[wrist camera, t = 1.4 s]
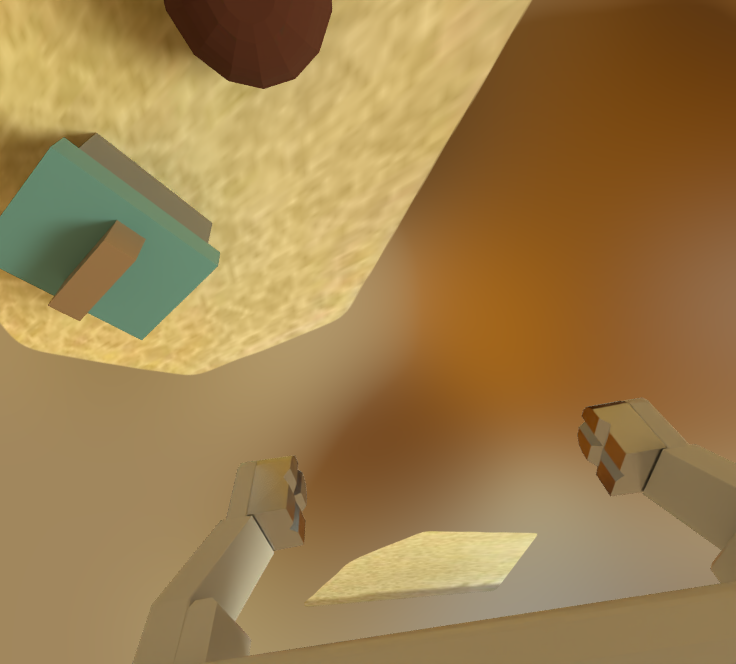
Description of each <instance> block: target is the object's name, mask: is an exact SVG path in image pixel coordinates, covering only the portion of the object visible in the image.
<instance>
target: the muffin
mask: <svg viewBox="0 0 736 664" xmlns="http://www.w3.org/2000/svg"><path fill="white" fill-rule="evenodd" d="M164 4H165V8H166V11H167V13H168V14H169V16H170V17H171V19H172V21H173V22H174V24H175V25H176V27H177V28H178V30H179V32H180V33H181V35H182V36H183V38H184V39H185V41H186V43H187V44H188V46H189V47H190V49H191V50H192V52H193V54H194V55H195V56H197V57H198V58H199V59H201V60H202V61H203V62H205V63H206V64H207V65H208V66H210V67H211V68H212V69H214V70H215V71H216V72H217V73H219V74H220V75H221V76H223V77H224V78H225V79H226V80H228V81H231V82H235V83H240V84H244V85H249V86H253V87H257V88H262V89H265V88H268V87H271V86H274V85H277V84H281V83H284V82H287V81H290V80H293V79H295V78H296V77H297V76H298V75H299V74H300V73H301V72H302V71H303V70H304V68H305V67H306V66H307V65H308V64H309V63H310V62H311V61H312V60H313V58H314V57H315V56H316V55H317V54H318V53H319V51H320V48H321V45H322V42H323V38H324V35H325V32H326V29H327V26H328V22H329V19H330V16H331V13H332V0H164Z"/></svg>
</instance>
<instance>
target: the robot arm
mask: <svg viewBox="0 0 736 664" xmlns="http://www.w3.org/2000/svg"><path fill="white" fill-rule="evenodd" d="M582 417H583V419H584V421H585V422H584V423H583V424H582V425H581V426H580V427H579V430H578V442H579V446H580V448H581V451H582V453H583V454H584V456H585V458H586V459H587V460H588V461H589V462H591V463H593V464H594V465H596V466H597V472H596V475H597V476H598V478H599V480H600V481H601V483H602V484H603V486H604V487H605V489H606V490H607V492H608V494H609V495H610V496H617V495H625V494H632V493H640V492H643V494H644V495H645V496H646V497H648V498H649V499H651V500H652V501H653V502H655V503H656V504H658V505H659V506H660V507H662V508H663V509H665V510H666V511H668V512H669V513H670V514H672V515H673V516H674V517H676V518H677V519H679V520H680V521H682V522H683V523H684V524H686V525H687V526H688V527H690V528H691V529H693V530H694V531H695V532H697V533H698V534H699V535H701V536H702V537H704V538H705V539H706V540H708V541H709V542H711V543H712V544H714V545H715V546H716V547H718V548H719V549H720V550H722V551H721V552H720V553H719V554H718V556H717V557H716V558H715V560H714V561H713V562H712V565H711V568H710V569H711V571H712V572H713V573H714V575H715V576H716V577H717V579H718V580H719V582H720V583H721V584H714V585H708V586H701V587H694V588H688V589H681V590H676V591H668V592H662V593H656V594H649V595H643V596H636V597H629V598H622V599H617V600H609V601H603V602H596V603H590V604H583V605H577V606H570V607H564V608H557V609H551V610H544V611H538V612H531V613H524V614H518V615H512V616H505V617H499V618H492V619H485V620H479V621H472V622H466V623H459V624H452V625H446V626H440V627H433V628H426V629H420V630H413V631H407V632H400V633H394V634H387V635H381V636H374V637H368V638H361V639H355V640H349V641H342V642H335V643H329V644H322V645H316V646H309V647H303V648H296V649H289V650H283V651H276V652H270V653H263V654H257V655H250V656H249V653H250V644H251V639H250V638H249V636H248V635H247V634H246V633H245V632H244V631H243V630H242V628H241V627H240V626H239V625H238V624H237V623H236V622H235V621H236V619H237V617H238V615H239V614H240V612H241V610H242V608H243V607H244V605H245V603H246V601H247V599H248V598H249V596H250V594H251V592H252V591H253V589H254V587H255V585H256V584H257V582H258V580H259V578H260V576H261V575H262V573H263V571H264V570H265V568H266V566H267V564H268V563H269V561H270V559H271V557H272V556H273V554H274V552H273V551H275V550H280V549H285V548H291V547H296V546H301V545H304V540H305V522H306V521H305V519H304V517H303V514H302V511H303V510H304V508H305V507H306V501H307V493H306V483H305V479H304V476H303V473H302V472H301V471H299V470H298V461H297V459H296V457H295V456H288V457H280V458H272V459H265V460H258V461H251V462H245V463H241V464H240V466H239V467H238V469H237V473H236V478H235V482H234V486H233V491H232V496H231V500H230V504H229V509H228V513H227V517H226V519H225V520H221V521H220V522H219V523H218V524H217V525H216V527H215V528H214V529H213V530H212V532H211V533H210V534H209V535H208V537H207V538H206V539H205V540H204V541H203V543H202V544H201V545H200V546H199V548H198V549H197V550H196V551H195V552H194V554H193V555H192V556H191V557H190V559H189V560H188V561H187V562H186V563H185V565H184V566H183V567H182V568H181V570H180V571H179V572H178V574H177V575H176V576H175V577H174V578H173V579H172V581H171V582H170V583H169V584H168V586H167V587H166V588H165V589H164V590H163V592H162V593H161V594H160V595H159V597H158V598H157V599H156V600H155V602H154V603H153V604H152V605H151V608H150V612H149V615H148V618H147V621H146V624H145V627H144V630H143V633H142V636H141V639H140V642H139V645H138V648H137V651H136V654H135V657H134V660H133V663H132V664H736V463H734V462H732V461H729V460H728V459H725V458H723V457H721V456H719V455H717V454H715V453H713V452H711V451H709V450H706V449H705V448H703V447H700V446H698V445H696V444H692V445H689V444H688V443H687V442H686V441H685V440H684V438H683V437H682V436H681V435H680V434H679V433H678V432H677V431H676V430H675V429H674V428H673V427H672V426H671V425H670V424H669V422H668V421H667V420H666V419H665V418H664V417H663V416H662V415H661V414H660V413H659V412H658V411H657V410H656V409H655V408H654V407H653V405H652V404H651V403H650V402H649V401H648V400H646V399H644V398H637V399H631V400H625V401H617V402H611V403H606V404H600V405H594V406H589V407H586V408H585V409H584V410H583V413H582Z"/></svg>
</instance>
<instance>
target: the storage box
mask: <svg viewBox="0 0 736 664" xmlns="http://www.w3.org/2000/svg"><path fill="white" fill-rule="evenodd" d="M79 149H81V150H82V151H83V152H85V153H86V154H87V155H89V156H90V157H91V158H93V159H94V160H95V161H97V162H98V163H100V164H101V165H102V166H104V167H105V168H106V169H108V170H109V171H110V172H112V173H113V174H114V175H116V176H117V177H118V178H120V179H121V180H123V181H124V182H125V183H127V184H128V185H129V186H131V187H132V188H133V189H135V190H136V191H137V192H139V193H140V194H142V195H143V196H144V197H146V198H147V199H148V200H150V201H151V202H152V203H154V204H155V205H156V206H158V207H159V208H160V209H162V210H163V211H165V212H166V213H167V214H169V215H170V216H171V217H173V218H174V219H175V220H177V221H178V222H179V223H181V224H182V225H183V226H185V227H186V228H188V229H189V230H190V231H192V232H193V233H194V234H196V235H197V236H198V237H200V238H201V239H202V240H204V241H205V242H207V243H208V241H209V236H210V231H211V226H212V223H211V222H210V221H209V220H208V219H206V218H205V217H204V216H202V215H201V214H200V213H199V212H197V211H196V210H195V209H194V208H192V207H191V206H190V205H188V204H187V203H186V202H185V201H183V200H182V199H181V198H179V197H178V196H177V195H176V194H174V193H173V192H172V191H170V190H169V189H168V188H167V187H165V186H164V185H163V184H161V183H160V182H159V181H158V180H156V179H155V178H154V177H153V176H151V175H150V174H149V173H147V172H146V171H145V170H144V169H142V168H141V167H140V166H138V165H137V164H136V163H135V162H133V161H132V160H131V159H129V158H128V157H127V156H126V155H124V154H123V153H122V152H121V151H119V150H118V149H117V148H115V147H114V146H113V145H112V144H110V143H109V142H108V141H106V140H105V139H104V138H103V137H101V136H100V135H99V134H97V133H96V134H95V135H93V136H92V137H91V138H90V139H89V140H88V141H86V142H85V143H84V144H83V145H82V146H81V147H79Z"/></svg>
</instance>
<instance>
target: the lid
mask: <svg viewBox="0 0 736 664" xmlns="http://www.w3.org/2000/svg"><path fill="white" fill-rule="evenodd" d="M219 257H220V252H219V251H217V250H216V249H215V248H213V247H212V246H211V245H209V244H208V243H207V242H205V241H204V240H202V239H201V238H200V237H198V236H197V235H196V234H194V233H193V232H192V231H190V230H189V229H188V228H186V227H185V226H183V225H182V224H181V223H179V222H178V221H177V220H175V219H174V218H173V217H171V216H170V215H169V214H167V213H166V212H165V211H163V210H162V209H160V208H159V207H158V206H156V205H155V204H154V203H152V202H151V201H150V200H148V199H147V198H146V197H144V196H143V195H142V194H140V193H139V192H137V191H136V190H135V189H133V188H132V187H131V186H129V185H128V184H127V183H125V182H124V181H123V180H121V179H120V178H118V177H117V176H116V175H114V174H113V173H112V172H110V171H109V170H108V169H106V168H105V167H104V166H102V165H101V164H100V163H98V162H97V161H95V160H94V159H93V158H91V157H90V156H89V155H87V154H86V153H85V152H83V151H82V150H81V149H79V148H78V147H77V146H75V145H74V144H72V143H71V142H70V141H68V140H67V139H66V138H64V137H63V138H62V139H61V140H59V141H58V142H57V143H55V144H54V145H53V146H51V147H50V148H49V150H48V151H47V153H46V154H45V155H44V157H43V158H42V160H41V161H40V162H39V164H38V165H37V166H36V168H35V169H34V171H33V172H32V173H31V175H30V176H29V177H28V179H27V180H26V182H25V183H24V184H23V186H22V187H21V188H20V190H19V191H18V193H17V194H16V195H15V197H14V198H13V200H12V201H11V202H10V204H9V205H8V206H7V208H6V209H5V211H4V212H3V213H2V215H1V216H0V269H2V270H4V271H6V272H8V273H10V274H12V275H14V276H16V277H18V278H20V279H22V280H24V281H26V282H28V283H30V284H32V285H34V286H36V287H38V288H40V289H42V290H44V291H46V292H48V293H49V294H51V295H53V296H54V297H53V298H52V300H51V301H50V303H49V304H48V306H50V307H52V308H54V309H56V310H58V311H60V312H62V313H64V314H66V315H68V316H70V317H72V318H74V319H76V320H78V321H80V320H81V319H82V318H83V317H84V316H85V315H86V314H87V313H89V314H91V315H93V316H95V317H97V318H99V319H101V320H103V321H105V322H107V323H109V324H111V325H113V326H115V327H117V328H119V329H121V330H123V331H125V332H127V333H128V334H130V335H132V336H134V337H136V338H138V339H140V340H143V339H144V338H145V337H146V336H147V335H148V334H149V333H150V332H151V331H152V330H153V329H154V328H155V327H156V326H157V325H158V324H159V323H160V322H161V321H162V320H163V319H164V318H165V317H166V316H167V315H168V314H169V313H170V312H171V311H172V310H173V309H174V308H175V307H176V306H178V305H179V304H180V303H181V302H182V301H183V300H184V299H185V298H186V297H187V296H188V295H189V294H190V293H191V292H192V291H193V290H194V289H195V288H196V287H197V286H198V285H199V284H200V283H201V282H202V281H203V280H204V279H205V278H206V277H207V276H208V275H209V274H210V273H211V272H212V271H213V270H214V269H215V268H216V267H217V266H218V263H219Z"/></svg>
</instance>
